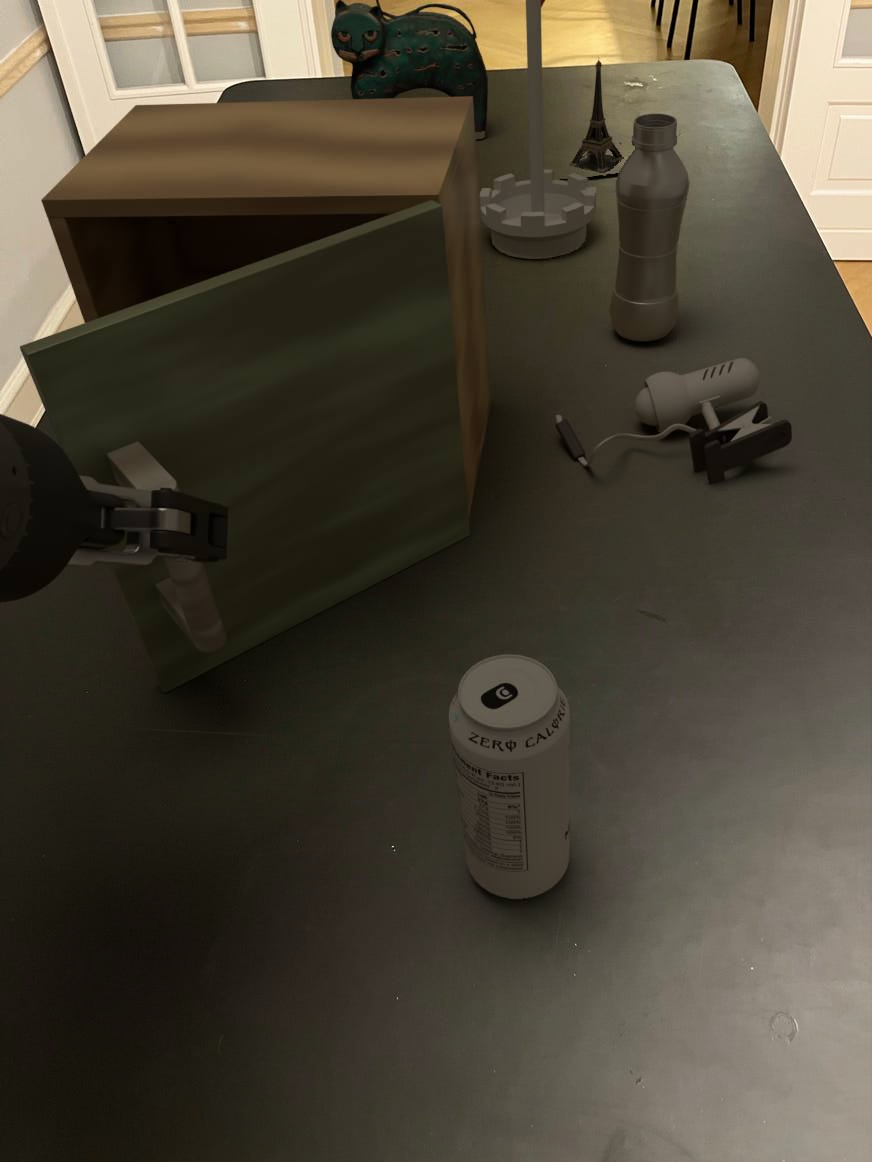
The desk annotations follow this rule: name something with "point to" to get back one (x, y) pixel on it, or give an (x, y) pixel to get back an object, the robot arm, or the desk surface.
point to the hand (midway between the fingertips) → (130, 539)
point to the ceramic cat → (410, 54)
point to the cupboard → (274, 204)
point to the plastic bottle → (649, 231)
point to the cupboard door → (274, 430)
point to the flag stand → (537, 182)
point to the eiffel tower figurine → (597, 138)
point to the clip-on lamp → (702, 392)
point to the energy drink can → (512, 774)
